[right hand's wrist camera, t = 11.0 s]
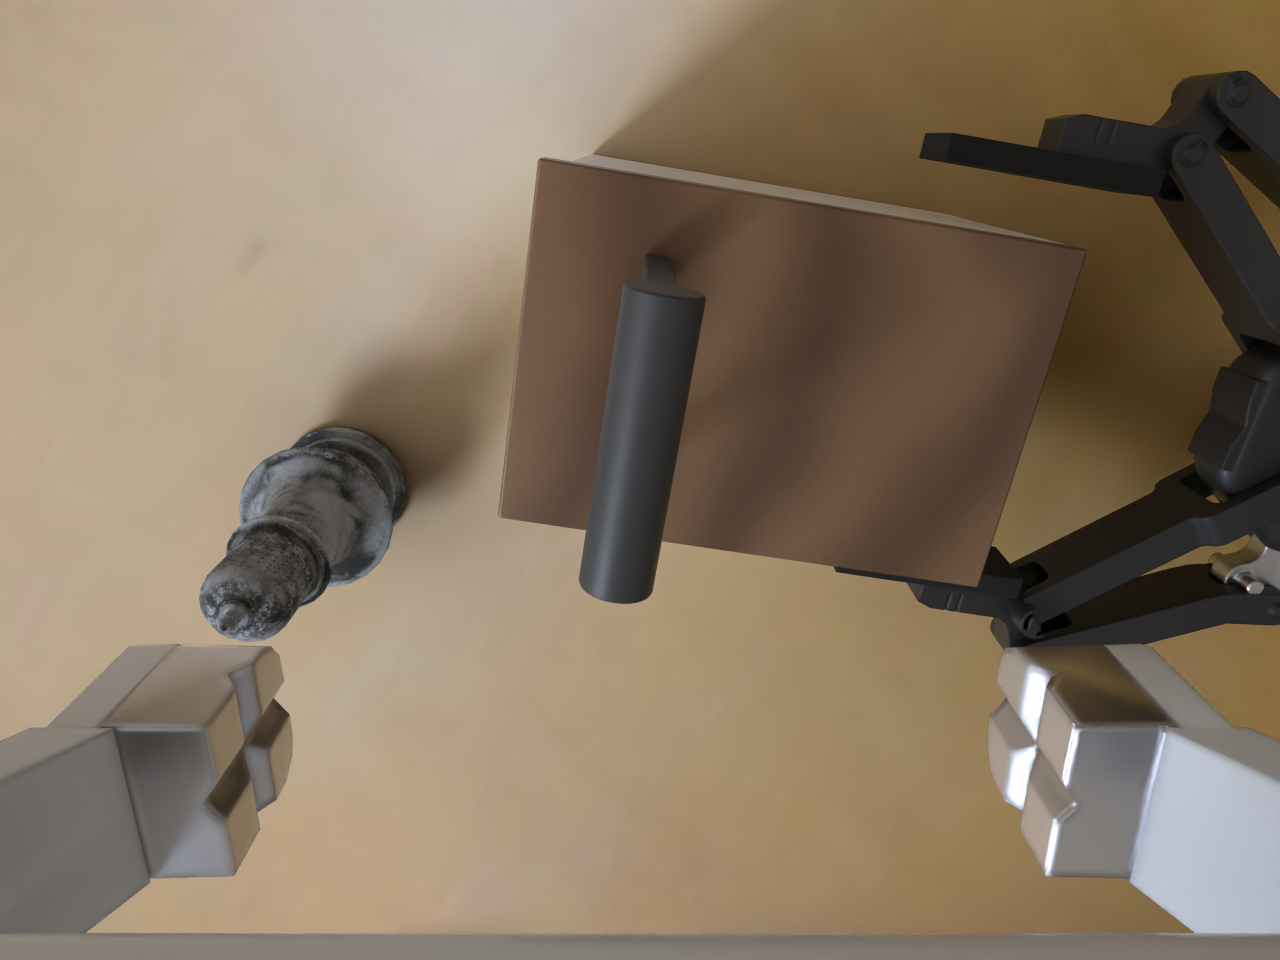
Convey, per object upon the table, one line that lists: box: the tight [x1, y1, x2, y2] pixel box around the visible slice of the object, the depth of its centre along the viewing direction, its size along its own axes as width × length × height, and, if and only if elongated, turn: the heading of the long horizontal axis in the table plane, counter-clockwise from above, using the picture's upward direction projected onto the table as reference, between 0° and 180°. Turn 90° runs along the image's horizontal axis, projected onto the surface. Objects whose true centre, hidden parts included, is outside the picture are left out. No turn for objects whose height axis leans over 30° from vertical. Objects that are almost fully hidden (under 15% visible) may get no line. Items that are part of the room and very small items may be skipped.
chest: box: [572, 154, 1063, 244], centre depth 31 cm, size 14×10×11 cm
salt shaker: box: [199, 427, 406, 642], centre depth 33 cm, size 6×6×12 cm
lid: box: [498, 157, 1086, 604], centre depth 22 cm, size 14×10×8 cm
